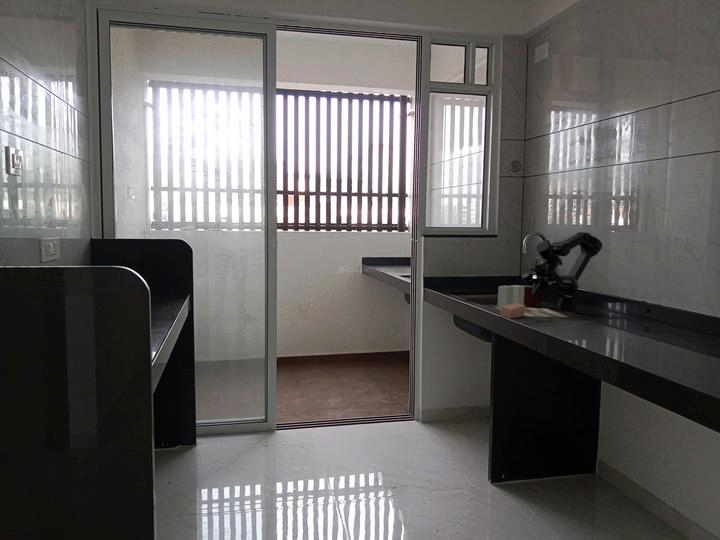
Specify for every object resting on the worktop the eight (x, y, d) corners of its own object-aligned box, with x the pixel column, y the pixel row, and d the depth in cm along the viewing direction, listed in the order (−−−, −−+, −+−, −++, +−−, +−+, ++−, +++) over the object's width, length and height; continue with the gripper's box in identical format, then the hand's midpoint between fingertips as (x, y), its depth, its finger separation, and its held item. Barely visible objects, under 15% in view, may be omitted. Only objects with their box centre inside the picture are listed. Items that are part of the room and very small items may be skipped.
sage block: (503, 307, 250) (505, 285, 249) (512, 309, 247) (513, 286, 246) (497, 308, 247) (498, 286, 246) (505, 310, 244) (507, 287, 243)
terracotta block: (515, 302, 232) (501, 306, 225) (525, 305, 228) (510, 309, 222) (514, 313, 233) (500, 317, 226) (524, 316, 229) (509, 320, 223)
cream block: (514, 307, 253) (516, 285, 253) (523, 308, 250) (524, 286, 249) (508, 307, 251) (509, 285, 250) (517, 309, 247) (518, 286, 246)
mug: (540, 306, 265) (541, 285, 264) (545, 309, 257) (547, 287, 256) (518, 306, 265) (519, 285, 264) (522, 308, 257) (524, 287, 256)
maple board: (546, 310, 254) (546, 308, 254) (568, 319, 231) (568, 317, 231) (494, 309, 252) (494, 306, 252) (510, 317, 229) (511, 315, 229)
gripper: (522, 255, 247) (506, 283, 242) (556, 253, 231) (539, 283, 226) (536, 271, 251) (521, 299, 246) (570, 270, 235) (554, 300, 230)
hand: (533, 295), depth 237 cm, fingers closed
